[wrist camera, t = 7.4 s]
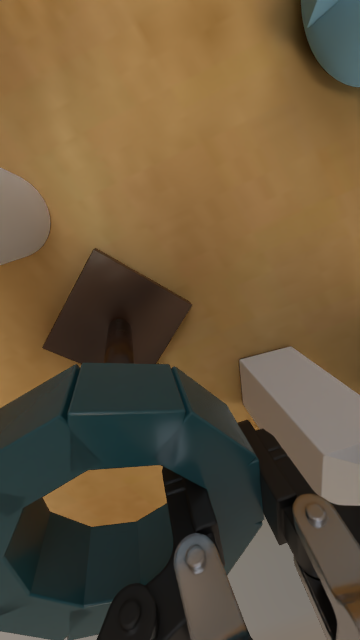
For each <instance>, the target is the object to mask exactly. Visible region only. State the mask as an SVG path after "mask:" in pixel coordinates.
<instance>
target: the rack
mask: <svg viewBox="0 0 360 640" xmlns="http://www.w3.org/2000/svg"><path fill="white" fill-rule="evenodd" d="M191 306H192V304H191V303H190V302H189V301H188V300H186V299H184V298H183V297H181V296H179V295H177V294H175V293H174V292H172V291H170V290H168V289H167V288H165V287H163V286H161V285H160V284H158V283H156V282H154V281H153V280H151V279H149V278H147V277H146V276H144V275H142V274H140V273H139V272H137V271H135V270H133V269H132V268H130V267H128V266H126V265H125V264H123V263H121V262H119V261H118V260H116V259H114V258H112V257H110V256H109V255H107V254H105V253H103V252H102V251H100V250H98V249H96V248H95V249H93V251H92V253H91V255H90V257H89V259H88V261H87V263H86V264H85V266H84V268H83V270H82V272H81V274H80V276H79V278H78V280H77V282H76V284H75V286H74V288H73V289H72V291H71V293H70V295H69V297H68V299H67V301H66V303H65V305H64V307H63V309H62V311H61V313H60V314H59V316H58V318H57V320H56V322H55V324H54V326H53V328H52V330H51V332H50V334H49V336H48V338H47V339H46V341H45V343H44V345H43V347H42V348H43V349H46V350H48V351H51V352H53V353H56V354H58V355H61V356H63V357H66V358H68V359H71V360H73V361H76V362H78V363H81V364H82V363H133V364H156V362H157V361H158V359H159V358H160V356H161V354H162V353H163V351H164V350H165V348H166V346H167V345H168V343H169V342H170V340H171V338H172V337H173V335H174V334H175V332H176V330H177V329H178V327H179V326H180V324H181V322H182V321H183V319H184V318H185V316H186V314H187V313H188V311H189V310H190V308H191Z"/></svg>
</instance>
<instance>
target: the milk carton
mask: <svg viewBox="0 0 360 640" xmlns="http://www.w3.org/2000/svg"><path fill="white" fill-rule="evenodd" d="M239 366H240V376H241V387H242V398H243V405H244V406H245V408H246V409H247V411H248V412H249V414H250V415H251V417H252V418H253V420H254V421H255V423H256V424H257V425H258V427H259V428H260V429H265V430H266V431H267V432H269V433H270V434H272V435H273V436H274V437H275V438H276V440H277V441H278V442H279V444H280V445H281V447H282V448H283V449H284V451H285V452H286V453H287V456H289V458H290V459H291V460H292V462H293V463H294V465H295V466H296V467H297V469H298V470H299V471H300V473H301V474H302V476H303V477H304V478H305V480H306V481H307V483H308V484H309V485H310V487H311V488H312V489H313V490H314V492H315V493H316V494H317V495H319V496H321V497H323V498H324V499H326V500H327V501H329V502H331V503H334V504H337V505H351V506H360V395H359V394H357V393H356V392H355V391H353V390H352V389H350V388H349V387H348V386H346V385H345V384H343V383H342V382H340V381H339V380H338V379H336V378H335V377H333V376H332V375H331V374H329V373H328V372H326V371H325V370H324V369H322V368H321V367H319V366H318V365H317V364H315V363H314V362H312V361H311V360H309V359H308V358H307V357H305V356H304V355H302V354H301V353H300V352H298V351H297V350H295V349H294V348H293V347H291V346H290V347H286V348H282V349H278V350H275V351H271V352H267V353H263V354H259V355H255V356H252V357H248V358H244V359H240V360H239Z"/></svg>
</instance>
